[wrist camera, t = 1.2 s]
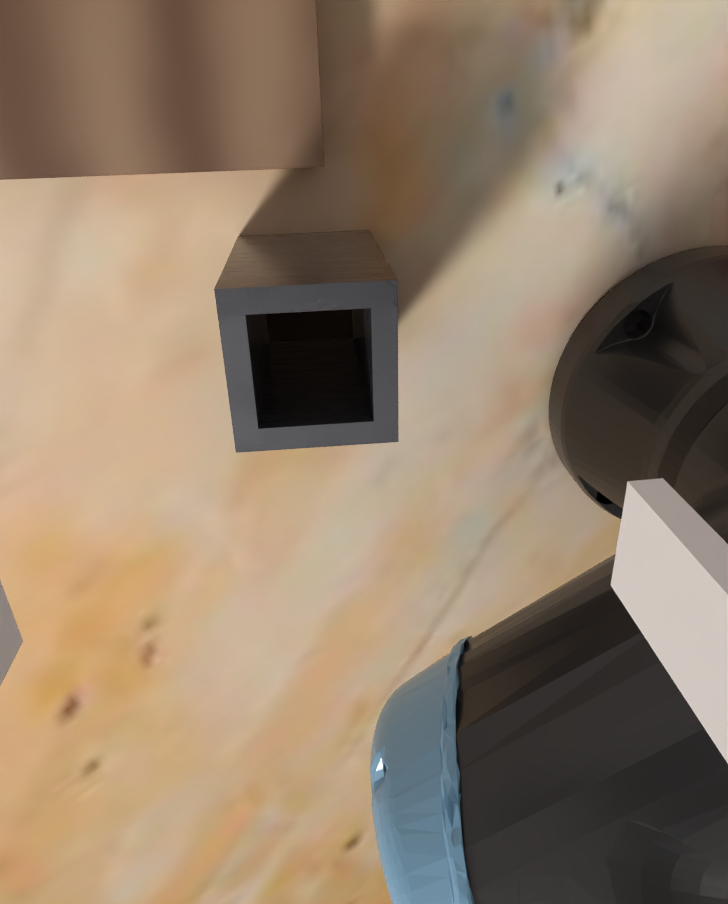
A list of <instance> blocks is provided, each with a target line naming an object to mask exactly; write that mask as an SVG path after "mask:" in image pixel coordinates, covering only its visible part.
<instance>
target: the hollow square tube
mask: <svg viewBox="0 0 728 904" xmlns="http://www.w3.org/2000/svg"><path fill="white" fill-rule="evenodd" d="M214 290H215V298H216V305H217V313H218V320H219V328H220V335H221V343H222V350H223V358H224V365H225V373H226V380H227V388H228V395H229V403H230V410H231V418H232V425H233V433H234V440H235V448H236V452H251V451H266V450H281V449H296V448H311V447H327V446H342V445H357V444H372V443H387V442H398V294H397V278H396V277H395V275H394V273H393V271H392V270H391V268H390V266H389V265H388V263H387V261H386V259H385V258H384V256H383V254H382V253H381V251H380V249H379V247H378V246H377V244H376V242H375V241H374V239H373V237H372V235H371V234H370V232H369V230H365V231H343V232H321V233H298V234H276V235H254V236H238V238H237V240H236V242H235V244H234V247H233V249H232V251H231V253H230V256H229V258H228V260H227V262H226V264H225V267H224V269H223V271H222V273H221V276H220V278H219V280H218V282H217V284H216V287H215V289H214ZM346 309H352V319H353V338H336V339H318V340H300V341H282V342H268V332H267V321H266V314H270V313H289V312H308V311H327V310H346Z"/></svg>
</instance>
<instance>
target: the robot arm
mask: <svg viewBox="0 0 728 904" xmlns="http://www.w3.org/2000/svg"><path fill="white" fill-rule="evenodd" d="M549 423H550V430H551V436H552V439H553V443H554V446H555V449H556V451H557V454H558V456H559V458H560V460H561V461H562V463H563V465H564V466H565V468H566V469H567V470H568V472H569V473H570V475H571V476H572V477H573V479H574V480H575V481H576V482H577V484H578V485H579V486H580V488H581V489H582V490H583V491H584V493H585V494H586V495H587V496H588V497H589V498H590V499H591V500H593V501H594V502H595V503H596V504H597V505H599V506H600V507H601V508H603V509H604V510H605V511H607V512H609V513H610V514H612V515H614V516H616V517H618V518H620V519H621V524H620V531H619V537H618V543H617V549H616V554H615V555H613V556H611V557H610V558H608V559H606V560H604V561H603V562H601V563H599V564H598V565H596V566H594V567H593V568H591V569H589V570H587V571H586V572H584V573H582V574H581V575H579V576H577V577H576V578H574V579H572V580H571V581H569V582H567V583H565V584H564V585H562V586H560V587H559V588H557V589H555V590H554V591H552V592H550V593H549V594H547V595H545V596H543V597H542V598H540V599H538V600H537V601H535V602H533V603H532V604H530V605H528V606H527V607H525V608H523V609H521V610H520V611H518V612H516V613H515V614H513V615H511V616H510V617H508V618H506V619H504V620H503V621H501V622H499V623H498V624H496V625H494V626H493V627H491V628H489V629H488V630H486V631H484V632H482V633H481V634H479V635H477V636H476V637H474V638H473V637H472V636H470V637H467V638H464V639H461V640H460V641H459V642H458V643H457V644H456V645H455V646H454V647H453V649H452V651H451V652H450V653H449V654H447V655H446V656H444V657H443V658H441V659H440V660H438V661H437V662H435V663H434V664H432V665H431V666H429V667H428V668H426V669H425V670H423V671H422V672H420V673H419V674H417V675H416V676H414V677H413V678H411V679H410V680H408V681H407V682H405V683H404V684H402V685H401V686H400V687H399V688H398V689H397V690H396V691H395V692H394V693H393V694H392V695H391V696H390V698H389V699H388V701H387V702H386V704H385V706H384V708H383V709H382V711H381V714H380V716H379V719H378V722H377V725H376V728H375V733H374V737H373V743H372V750H371V764H370V775H371V787H372V812H373V820H374V827H375V834H376V840H377V845H378V850H379V855H380V860H381V864H382V868H383V872H384V876H385V880H386V884H387V887H388V891H389V894H390V898H391V901H392V904H728V246H713V247H704V248H698V249H692V250H688V251H684V252H680V253H677V254H674V255H671V256H668V257H666V258H663V259H661V260H658V261H656V262H654V263H652V264H650V265H648V266H646V267H644V268H643V269H641V270H639V271H637V272H636V273H634V274H633V275H631V276H629V277H628V278H626V279H625V280H624V281H622V282H621V283H620V284H618V285H617V286H616V287H615V288H613V289H612V290H611V291H610V292H609V293H607V294H606V295H605V296H604V297H603V298H602V299H601V300H600V301H599V302H598V303H597V304H596V305H595V306H594V307H593V308H592V309H591V311H590V312H589V313H588V314H587V315H586V317H585V318H584V319H583V320H582V322H581V323H580V325H579V326H578V327H577V329H576V330H575V332H574V333H573V335H572V337H571V338H570V340H569V342H568V344H567V345H566V347H565V349H564V351H563V354H562V356H561V358H560V360H559V363H558V366H557V368H556V371H555V375H554V378H553V382H552V387H551V392H550V399H549ZM22 642H23V640H22V637H21V634H20V632H19V629H18V626H17V624H16V621H15V618H14V616H13V613H12V610H11V608H10V605H9V602H8V600H7V597H6V594H5V592H4V589H3V586H2V584H1V581H0V685H1V683H2V681H3V679H4V678H5V676H6V674H7V672H8V670H9V668H10V666H11V664H12V662H13V660H14V658H15V656H16V654H17V652H18V650H19V648H20V646H21V644H22Z"/></svg>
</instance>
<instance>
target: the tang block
mask: <svg viewBox="0 0 728 904" xmlns="http://www.w3.org/2000/svg"><path fill="white" fill-rule="evenodd" d="M314 167H324V154H323V134H322V115H321V96H320V77H319V58H318V38H317V19H316V0H0V180H3V179H29V178H55V177H81V176H107V175H133V174H159V173H185V172H211V171H237V170H262V169H288V168H314Z"/></svg>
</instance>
